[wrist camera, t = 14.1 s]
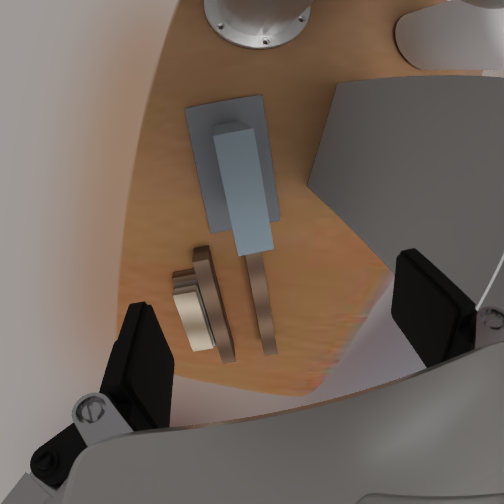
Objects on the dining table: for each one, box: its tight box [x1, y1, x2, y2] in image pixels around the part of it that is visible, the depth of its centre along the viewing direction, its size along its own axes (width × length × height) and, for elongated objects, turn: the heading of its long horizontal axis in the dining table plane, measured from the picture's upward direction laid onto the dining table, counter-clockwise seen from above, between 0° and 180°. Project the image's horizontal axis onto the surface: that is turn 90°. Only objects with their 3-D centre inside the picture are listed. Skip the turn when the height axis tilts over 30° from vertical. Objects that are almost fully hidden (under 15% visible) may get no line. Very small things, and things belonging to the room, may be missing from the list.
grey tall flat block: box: [307, 75, 504, 311], centre depth 24 cm, size 14×6×30 cm, turn 165°
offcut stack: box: [172, 269, 216, 351], centre depth 44 cm, size 12×4×5 cm, turn 9°
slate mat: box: [185, 95, 280, 234], centre depth 37 cm, size 16×9×1 cm, turn 9°
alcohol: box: [395, 0, 504, 71], centre depth 18 cm, size 9×9×30 cm
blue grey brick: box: [213, 121, 274, 256], centre depth 30 cm, size 10×3×14 cm, turn 10°
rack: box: [192, 246, 278, 364], centre depth 44 cm, size 18×8×4 cm, turn 9°
